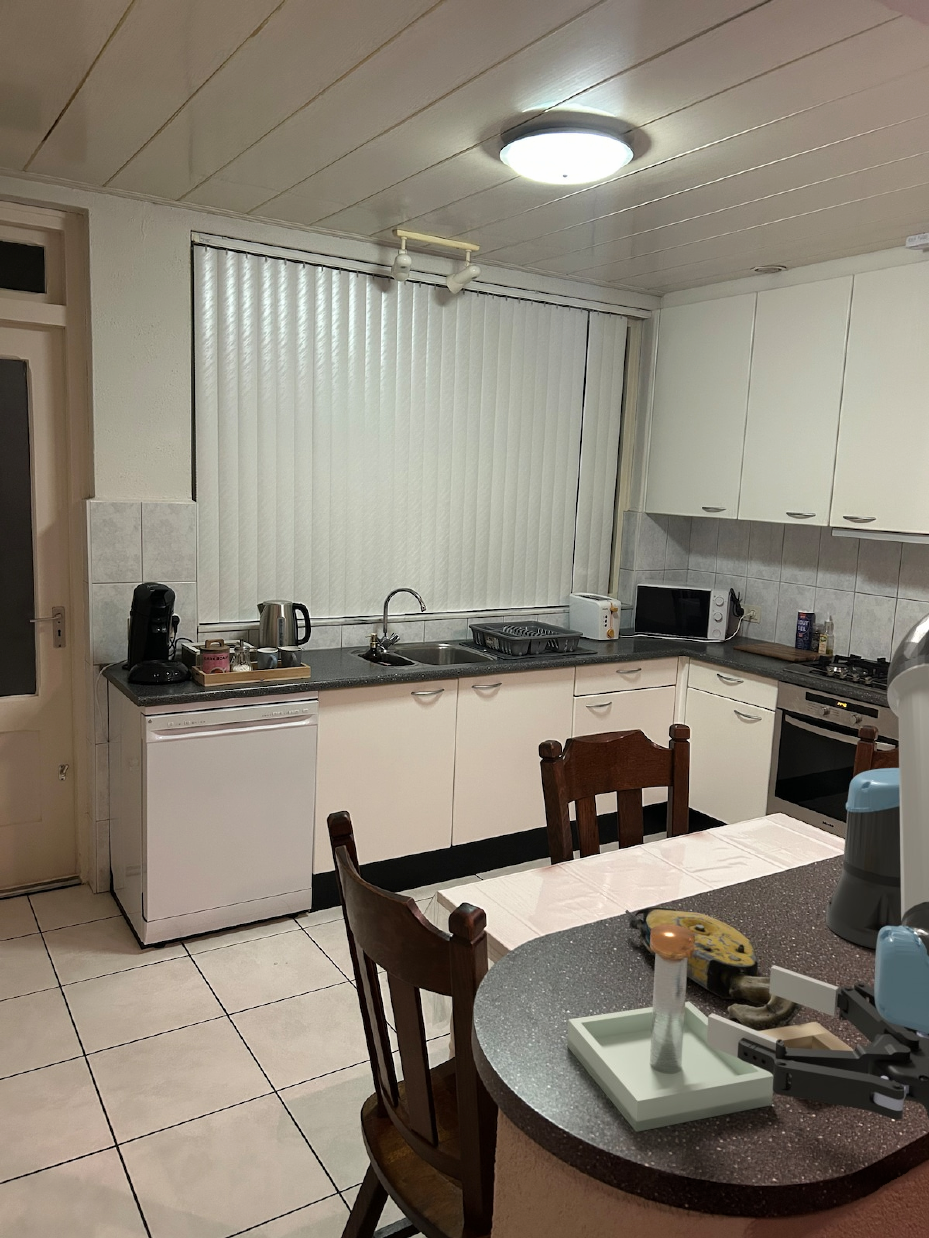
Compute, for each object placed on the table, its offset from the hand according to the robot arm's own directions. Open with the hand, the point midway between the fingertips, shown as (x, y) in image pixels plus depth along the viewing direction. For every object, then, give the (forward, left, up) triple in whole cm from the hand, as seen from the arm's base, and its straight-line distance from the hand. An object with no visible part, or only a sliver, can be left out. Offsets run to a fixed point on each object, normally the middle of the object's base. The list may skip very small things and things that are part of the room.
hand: (741, 1002), depth 89 cm
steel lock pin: (+4, -7, -10) cm, 12 cm away
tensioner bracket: (-12, -4, -11) cm, 16 cm away
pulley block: (-14, -24, -11) cm, 29 cm away
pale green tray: (+4, -7, -11) cm, 13 cm away
